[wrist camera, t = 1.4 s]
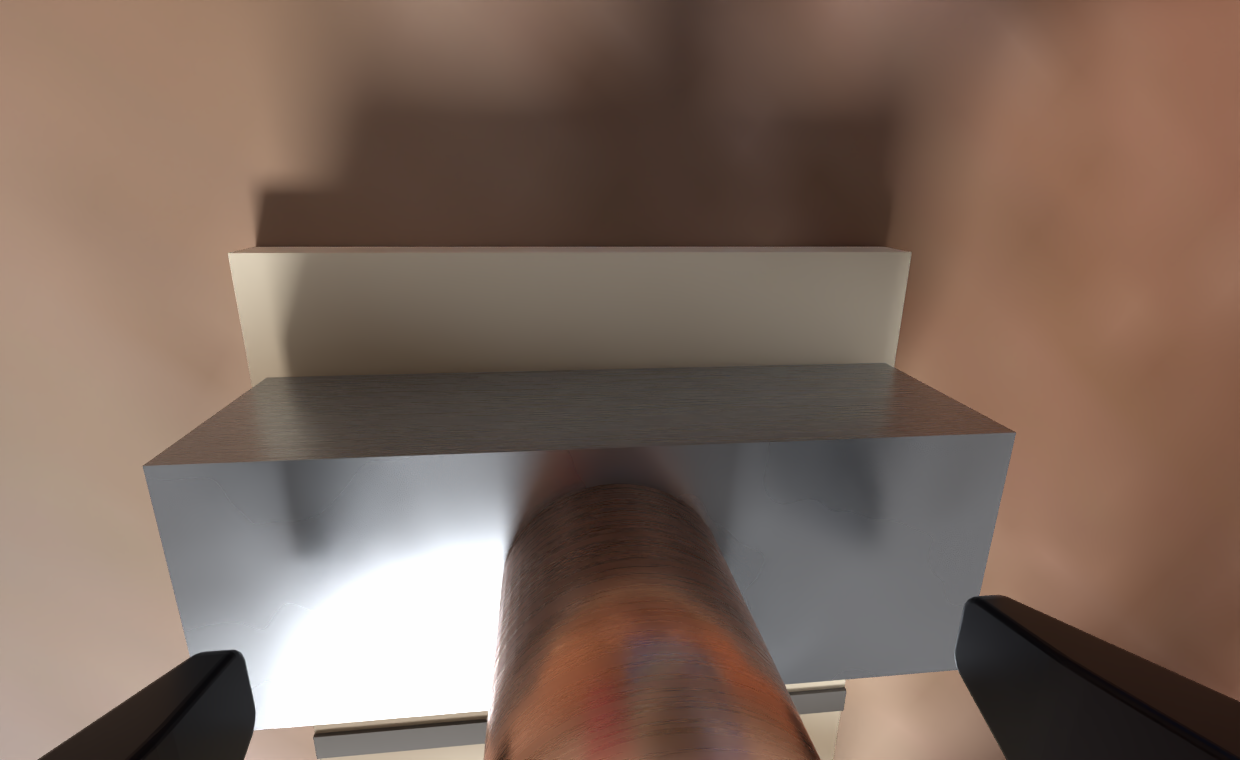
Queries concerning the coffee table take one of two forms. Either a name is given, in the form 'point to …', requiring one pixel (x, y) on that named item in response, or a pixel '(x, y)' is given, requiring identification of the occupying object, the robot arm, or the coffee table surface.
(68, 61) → the coffee table surface
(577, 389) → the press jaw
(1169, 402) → the coffee table surface
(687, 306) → the press base
